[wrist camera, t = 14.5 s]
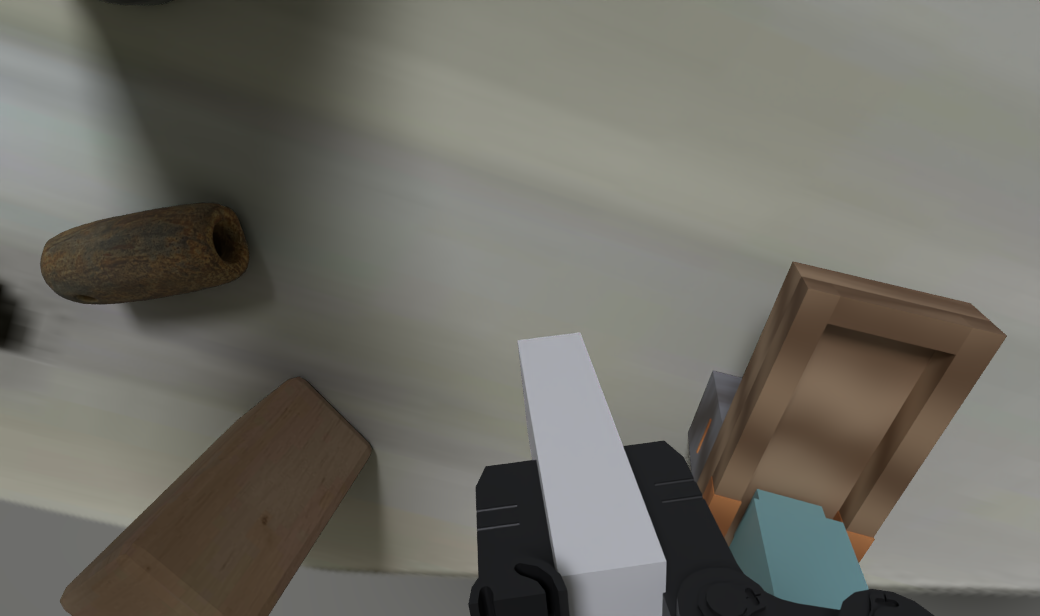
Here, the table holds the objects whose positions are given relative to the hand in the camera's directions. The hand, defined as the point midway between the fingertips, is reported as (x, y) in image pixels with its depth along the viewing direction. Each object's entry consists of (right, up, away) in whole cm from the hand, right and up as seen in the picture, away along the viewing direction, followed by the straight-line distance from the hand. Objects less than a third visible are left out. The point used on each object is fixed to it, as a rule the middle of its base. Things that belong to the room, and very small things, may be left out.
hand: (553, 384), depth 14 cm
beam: (+17, -6, +30) cm, 35 cm away
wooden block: (-20, -10, +40) cm, 46 cm away
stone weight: (-29, +7, +34) cm, 45 cm away
